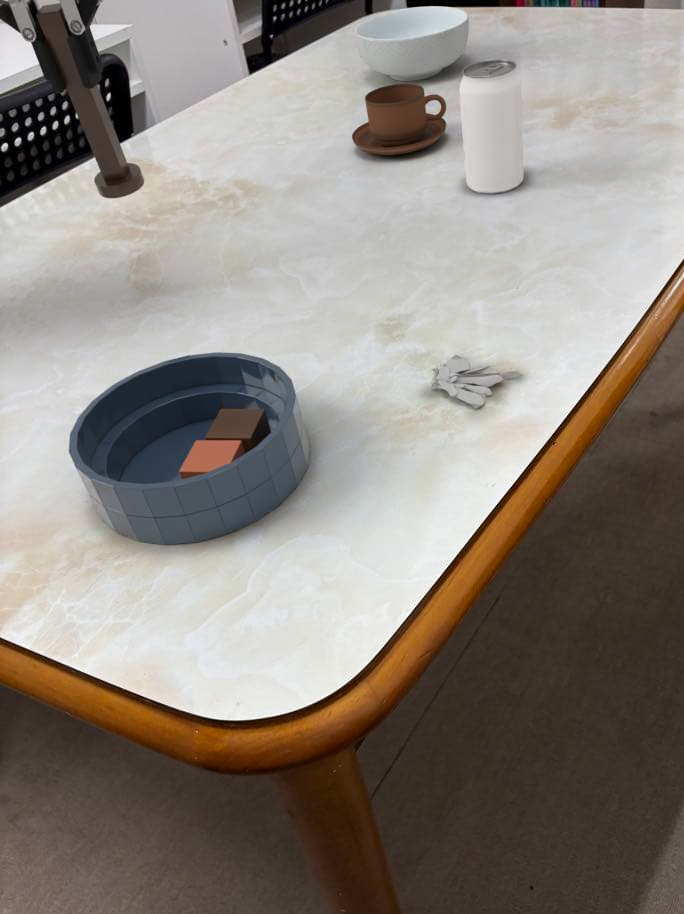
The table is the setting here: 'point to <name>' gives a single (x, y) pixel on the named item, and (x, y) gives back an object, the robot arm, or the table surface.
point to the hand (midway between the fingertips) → (78, 84)
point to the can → (492, 126)
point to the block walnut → (240, 427)
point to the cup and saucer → (399, 120)
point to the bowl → (187, 448)
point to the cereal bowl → (413, 41)
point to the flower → (467, 380)
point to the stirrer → (90, 112)
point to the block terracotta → (210, 456)
